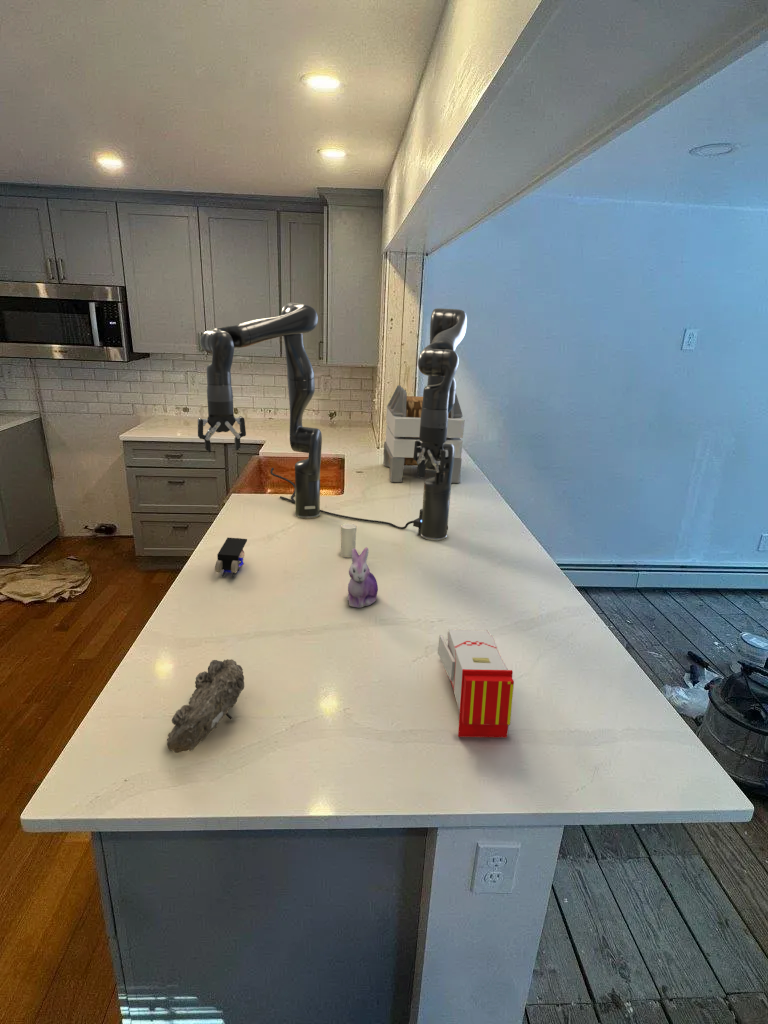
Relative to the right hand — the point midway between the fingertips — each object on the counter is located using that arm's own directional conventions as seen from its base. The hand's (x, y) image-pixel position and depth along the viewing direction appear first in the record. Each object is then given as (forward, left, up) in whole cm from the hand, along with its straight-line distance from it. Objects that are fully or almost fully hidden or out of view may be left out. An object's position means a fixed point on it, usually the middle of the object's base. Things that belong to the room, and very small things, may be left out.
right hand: (429, 481), depth 161 cm
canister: (-26, -4, -29) cm, 39 cm away
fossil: (+2, -80, -29) cm, 85 cm away
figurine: (-4, -25, -29) cm, 39 cm away
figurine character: (-45, -35, -29) cm, 64 cm away
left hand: (-63, -21, +1) cm, 67 cm away
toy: (+37, -42, -29) cm, 63 cm away
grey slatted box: (-60, +93, -29) cm, 115 cm away
